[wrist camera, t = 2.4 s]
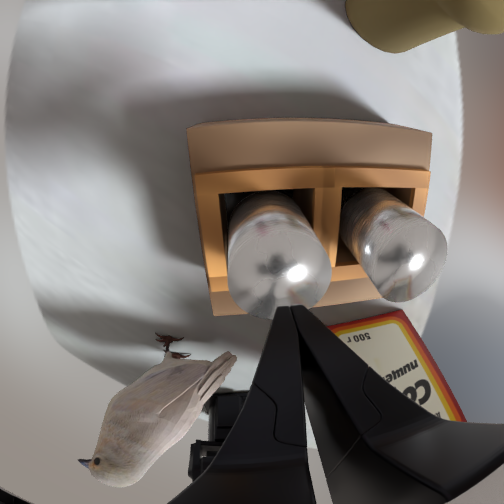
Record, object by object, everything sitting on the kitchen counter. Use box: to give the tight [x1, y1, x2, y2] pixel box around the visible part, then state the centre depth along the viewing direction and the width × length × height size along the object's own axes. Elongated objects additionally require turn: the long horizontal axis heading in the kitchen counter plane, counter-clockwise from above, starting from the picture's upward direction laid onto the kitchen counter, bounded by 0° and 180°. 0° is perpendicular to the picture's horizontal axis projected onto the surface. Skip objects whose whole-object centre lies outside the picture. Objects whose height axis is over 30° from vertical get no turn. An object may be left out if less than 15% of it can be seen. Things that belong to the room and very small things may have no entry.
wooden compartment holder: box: [186, 118, 432, 316], centre depth 16 cm, size 11×13×5 cm
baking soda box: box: [327, 310, 467, 422], centre depth 20 cm, size 10×6×16 cm
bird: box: [78, 333, 237, 487], centre depth 19 cm, size 5×14×15 cm, turn 97°
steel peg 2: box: [339, 188, 447, 302], centre depth 13 cm, size 4×4×5 cm
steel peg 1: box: [227, 191, 332, 319], centre depth 13 cm, size 4×4×5 cm
